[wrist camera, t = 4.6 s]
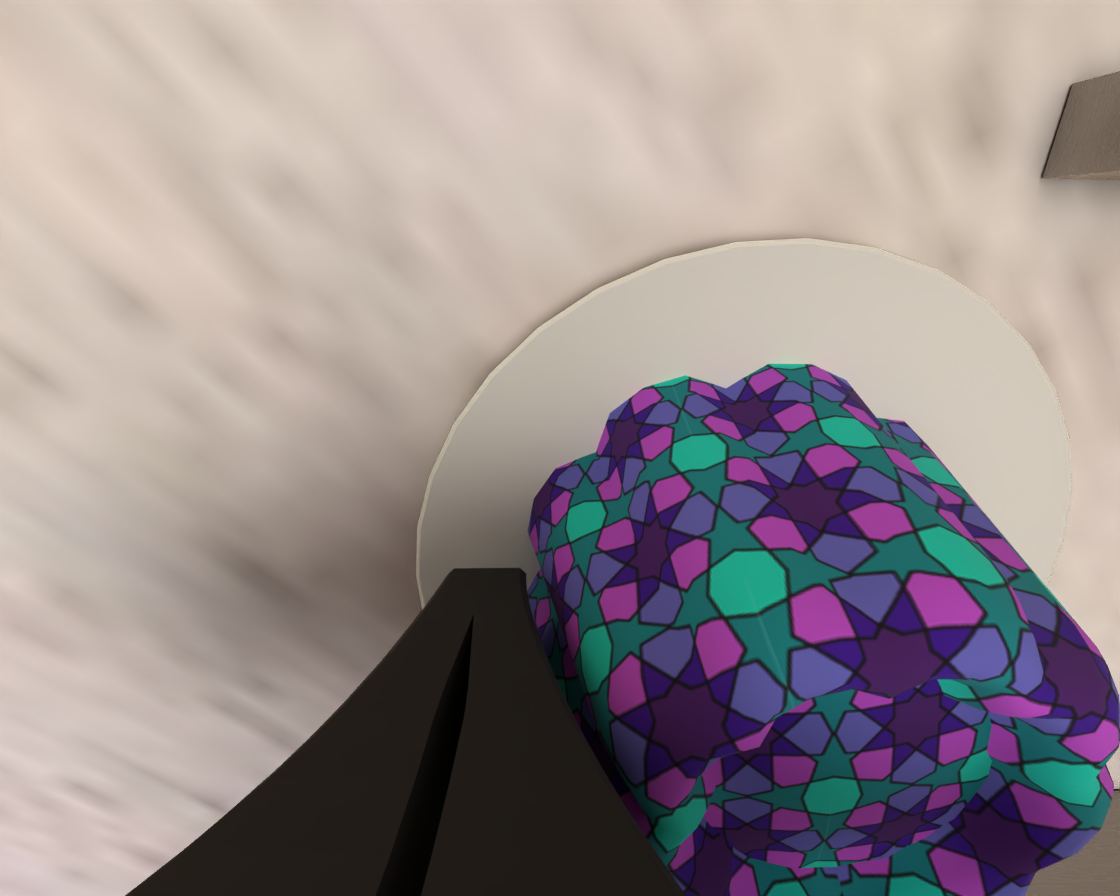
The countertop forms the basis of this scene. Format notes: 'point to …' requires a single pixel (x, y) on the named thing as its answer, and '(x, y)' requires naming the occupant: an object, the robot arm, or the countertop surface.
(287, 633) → the countertop surface
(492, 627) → the robot arm
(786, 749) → the pudding
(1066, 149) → the grey u-shaped frame
